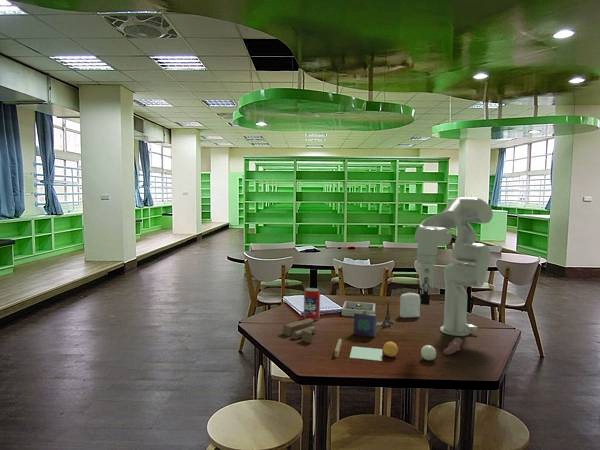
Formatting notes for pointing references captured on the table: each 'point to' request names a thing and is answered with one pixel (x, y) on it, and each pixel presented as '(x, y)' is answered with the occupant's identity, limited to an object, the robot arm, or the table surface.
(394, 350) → the orange ball
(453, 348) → the video game controller
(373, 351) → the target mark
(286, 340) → the table surface
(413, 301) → the photo printer
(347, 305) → the cup tray
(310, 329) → the wooden block set
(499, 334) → the table surface
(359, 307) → the grey rounded piece
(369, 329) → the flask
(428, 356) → the cue ball
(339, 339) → the stop rail
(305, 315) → the soda can
